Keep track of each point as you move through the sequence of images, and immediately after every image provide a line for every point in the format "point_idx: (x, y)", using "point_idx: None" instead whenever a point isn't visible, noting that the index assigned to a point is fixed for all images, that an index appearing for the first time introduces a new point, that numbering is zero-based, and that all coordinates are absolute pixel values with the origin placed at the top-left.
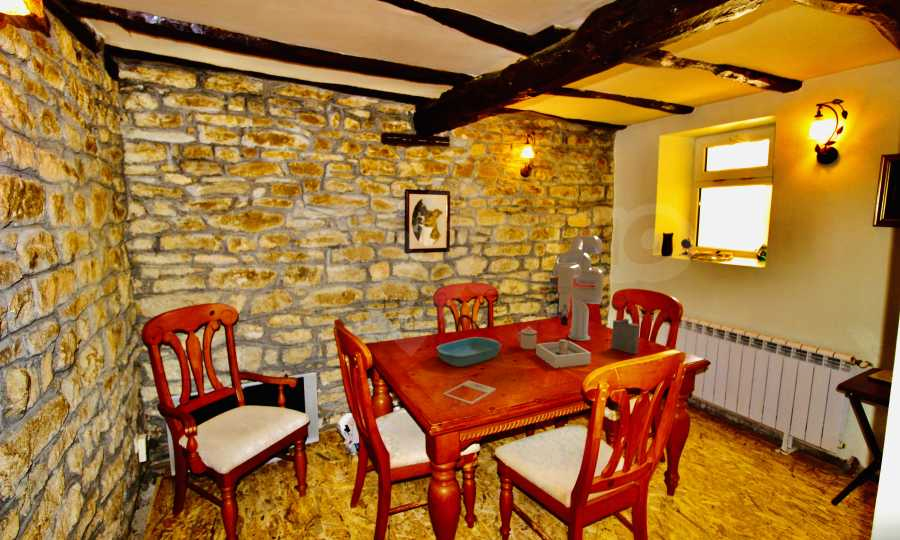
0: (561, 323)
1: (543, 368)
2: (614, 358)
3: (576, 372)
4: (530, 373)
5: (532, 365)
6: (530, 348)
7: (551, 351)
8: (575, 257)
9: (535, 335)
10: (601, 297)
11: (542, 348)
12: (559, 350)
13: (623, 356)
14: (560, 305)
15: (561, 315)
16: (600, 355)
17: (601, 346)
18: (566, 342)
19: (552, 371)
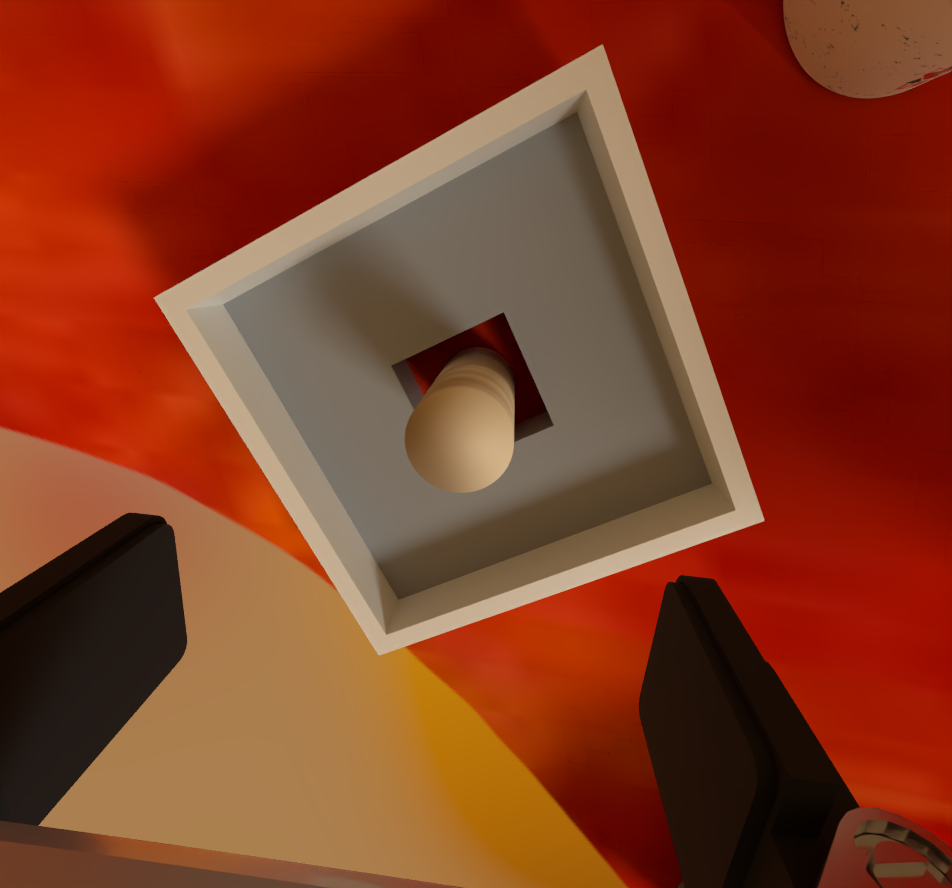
0: (108, 539)
1: (184, 174)
2: (563, 762)
3: (190, 461)
4: (4, 24)
5: (229, 47)
6: (785, 10)
7: (532, 279)
8: None
9: (946, 5)
10: None
11: (430, 144)
12: (449, 368)
13: (615, 820)
14: None
15: (714, 681)
16: (622, 693)
17: (860, 744)
18: (428, 476)
19: (140, 261)
